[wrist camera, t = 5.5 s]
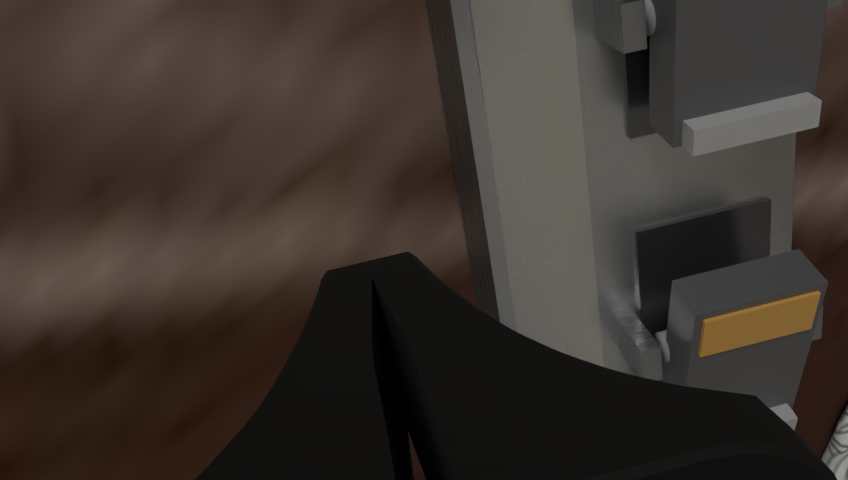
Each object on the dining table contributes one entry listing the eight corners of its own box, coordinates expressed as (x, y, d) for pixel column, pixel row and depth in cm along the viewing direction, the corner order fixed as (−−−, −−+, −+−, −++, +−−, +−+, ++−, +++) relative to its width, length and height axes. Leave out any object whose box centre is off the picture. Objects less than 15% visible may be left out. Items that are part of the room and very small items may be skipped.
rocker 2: (758, 367, 23) (802, 429, 21) (648, 396, 23) (684, 461, 21) (789, 235, 20) (843, 297, 18) (661, 267, 19) (704, 332, 18)
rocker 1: (771, 86, 19) (829, 124, 17) (637, 116, 19) (681, 159, 17) (794, -147, 16) (865, -131, 14) (637, -114, 16) (689, -94, 14)
